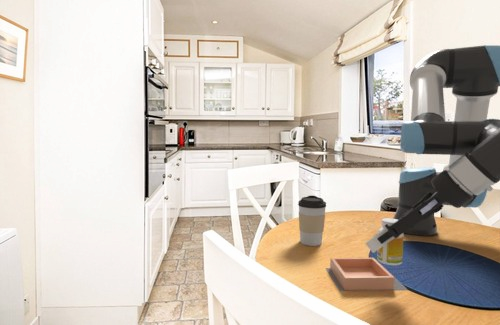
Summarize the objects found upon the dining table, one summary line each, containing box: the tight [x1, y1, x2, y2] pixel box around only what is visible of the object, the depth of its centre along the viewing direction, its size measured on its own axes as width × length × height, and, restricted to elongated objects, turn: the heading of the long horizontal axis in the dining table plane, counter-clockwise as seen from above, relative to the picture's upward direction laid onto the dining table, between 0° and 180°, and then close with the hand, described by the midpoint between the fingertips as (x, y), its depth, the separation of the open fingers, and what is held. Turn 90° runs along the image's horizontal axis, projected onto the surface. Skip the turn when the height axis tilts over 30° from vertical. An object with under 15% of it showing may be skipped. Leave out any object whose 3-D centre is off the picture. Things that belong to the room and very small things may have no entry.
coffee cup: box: [297, 195, 327, 247], centre depth 107 cm, size 9×9×15 cm
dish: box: [329, 257, 396, 291], centre depth 81 cm, size 12×12×3 cm
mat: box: [325, 267, 409, 292], centre depth 81 cm, size 16×12×1 cm
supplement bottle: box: [376, 217, 405, 266], centre depth 75 cm, size 5×5×10 cm
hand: (373, 243), depth 77 cm, fingers closed on supplement bottle, 5 cm apart
